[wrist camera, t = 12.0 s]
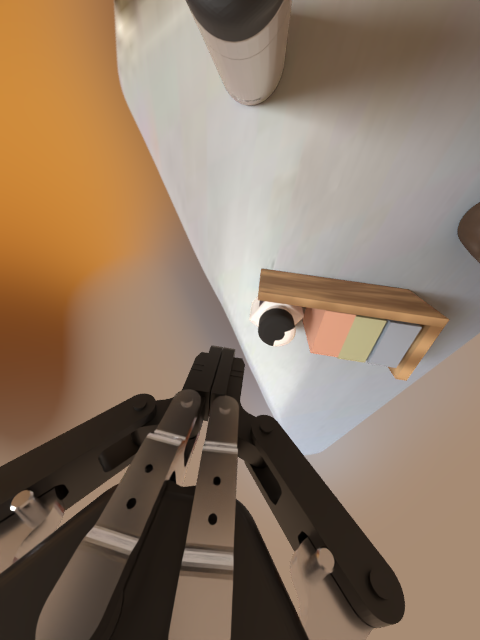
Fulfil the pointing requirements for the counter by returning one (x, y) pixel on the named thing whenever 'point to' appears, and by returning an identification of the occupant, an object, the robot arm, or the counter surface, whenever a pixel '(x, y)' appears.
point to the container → (275, 321)
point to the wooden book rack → (358, 306)
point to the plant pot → (471, 231)
